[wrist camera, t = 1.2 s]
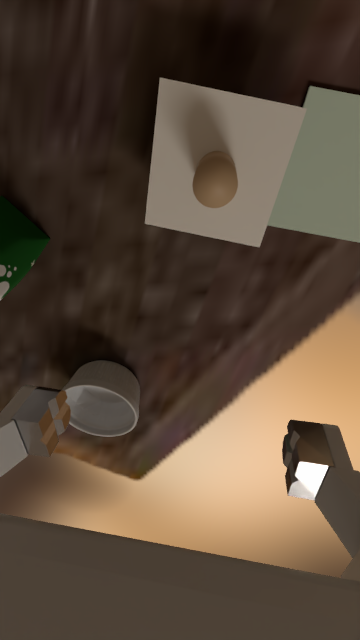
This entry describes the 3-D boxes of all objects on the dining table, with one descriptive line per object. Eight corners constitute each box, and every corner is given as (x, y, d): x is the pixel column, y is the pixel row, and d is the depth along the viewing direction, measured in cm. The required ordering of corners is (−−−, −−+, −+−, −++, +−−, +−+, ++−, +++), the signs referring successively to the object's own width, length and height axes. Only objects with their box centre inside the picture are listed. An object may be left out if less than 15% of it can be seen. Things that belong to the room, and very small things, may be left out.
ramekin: (160, 391, 56) (153, 424, 51) (108, 413, 62) (96, 445, 56) (111, 342, 50) (97, 373, 45) (57, 370, 56) (39, 402, 50)
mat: (309, 85, 29) (310, 85, 28) (437, 110, 29) (439, 110, 28) (265, 223, 37) (265, 224, 36) (366, 242, 37) (367, 243, 36)
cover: (161, 77, 26) (149, 75, 21) (304, 108, 26) (321, 111, 21) (146, 220, 33) (134, 240, 28) (258, 244, 33) (264, 267, 29)
